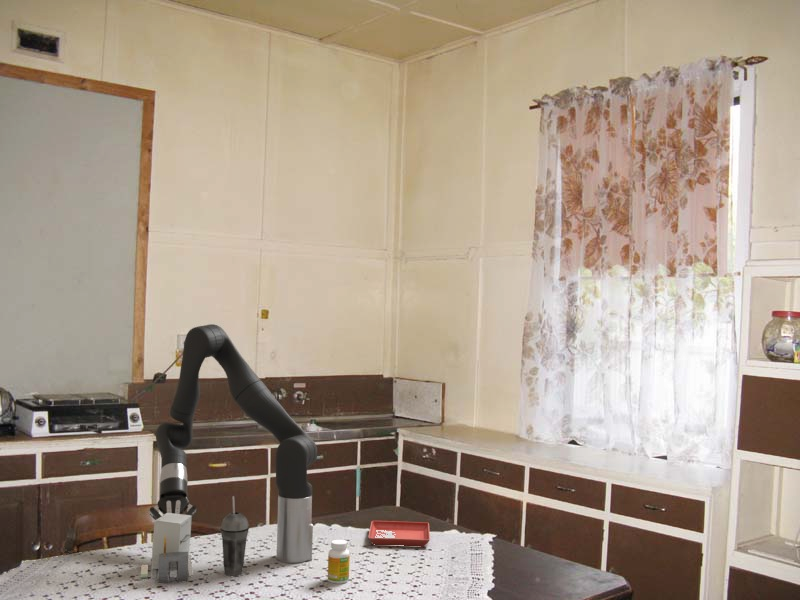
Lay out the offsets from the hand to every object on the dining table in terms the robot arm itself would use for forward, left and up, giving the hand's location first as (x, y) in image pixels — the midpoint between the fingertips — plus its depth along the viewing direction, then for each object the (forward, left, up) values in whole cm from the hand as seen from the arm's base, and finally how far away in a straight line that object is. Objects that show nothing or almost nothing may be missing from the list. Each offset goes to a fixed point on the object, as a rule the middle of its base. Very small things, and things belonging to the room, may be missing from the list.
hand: (172, 539), depth 206 cm
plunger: (0, +14, -5) cm, 15 cm away
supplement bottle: (-40, +24, -6) cm, 47 cm away
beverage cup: (-15, +13, -6) cm, 21 cm away
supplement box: (0, +4, -6) cm, 7 cm away
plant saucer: (-66, -7, -6) cm, 67 cm away
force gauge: (+1, +7, -6) cm, 9 cm away
